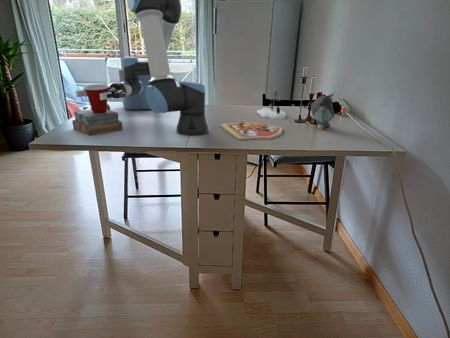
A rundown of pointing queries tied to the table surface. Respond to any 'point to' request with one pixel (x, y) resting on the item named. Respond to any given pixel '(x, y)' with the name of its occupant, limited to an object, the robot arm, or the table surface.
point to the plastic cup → (97, 97)
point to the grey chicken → (322, 111)
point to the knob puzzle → (251, 130)
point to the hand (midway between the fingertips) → (88, 95)
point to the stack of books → (96, 122)
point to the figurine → (272, 110)
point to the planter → (139, 99)
